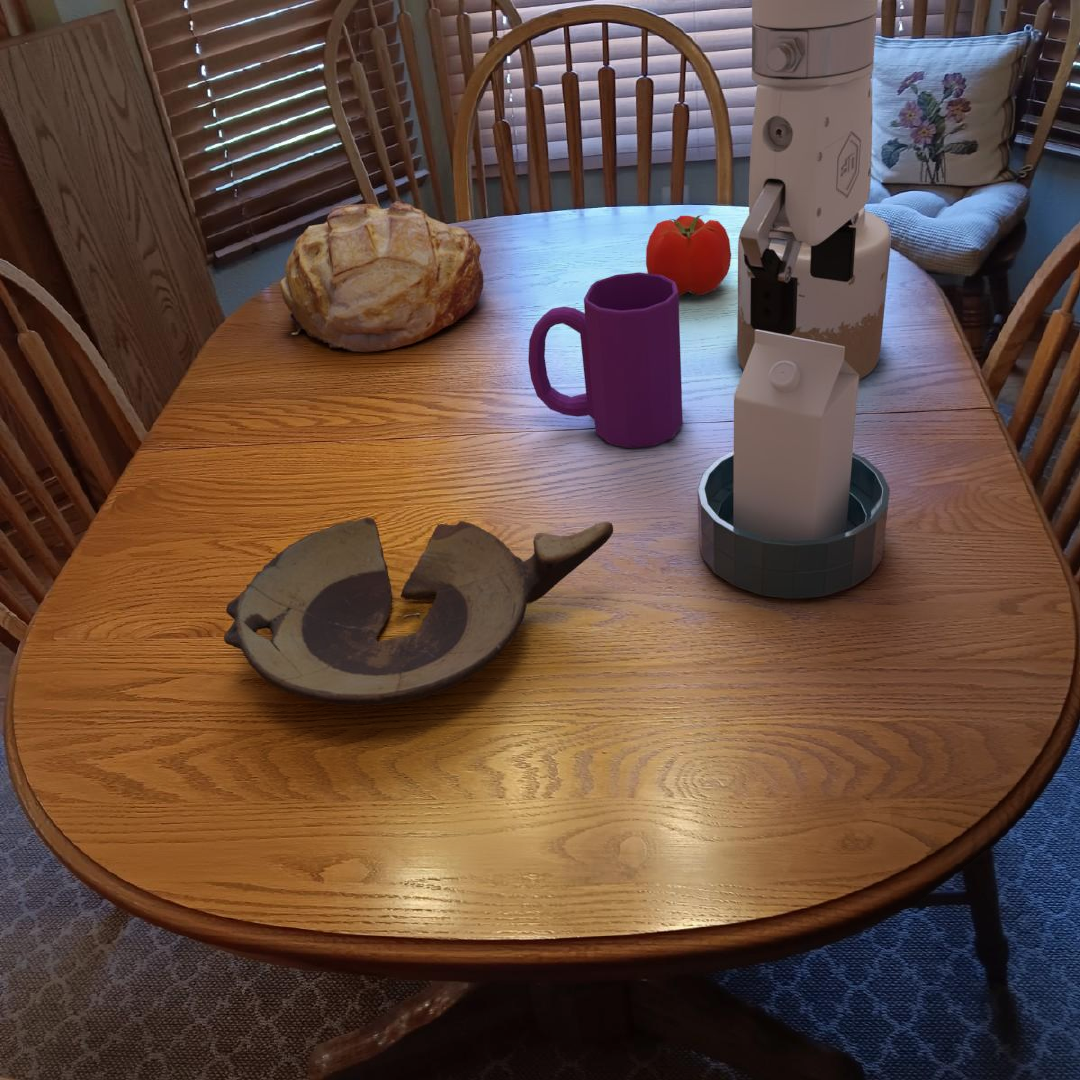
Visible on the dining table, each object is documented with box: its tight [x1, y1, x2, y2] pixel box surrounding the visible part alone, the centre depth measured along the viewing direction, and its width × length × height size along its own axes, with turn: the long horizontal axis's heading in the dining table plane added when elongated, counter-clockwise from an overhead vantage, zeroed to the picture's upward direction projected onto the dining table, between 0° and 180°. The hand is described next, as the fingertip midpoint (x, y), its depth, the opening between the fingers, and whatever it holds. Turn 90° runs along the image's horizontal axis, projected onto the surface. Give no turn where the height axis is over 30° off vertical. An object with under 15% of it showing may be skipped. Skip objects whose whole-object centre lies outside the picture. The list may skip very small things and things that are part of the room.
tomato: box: [645, 214, 732, 296], centre depth 131 cm, size 11×11×9 cm
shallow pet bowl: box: [697, 450, 891, 600], centre depth 88 cm, size 15×15×6 cm
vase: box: [736, 206, 892, 381], centre depth 111 cm, size 15×15×17 cm
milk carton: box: [733, 329, 860, 541], centre depth 83 cm, size 7×7×19 cm
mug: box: [528, 272, 684, 449], centre depth 104 cm, size 9×16×15 cm, turn 75°
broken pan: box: [223, 516, 614, 707], centre depth 82 cm, size 22×30×8 cm
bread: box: [279, 199, 484, 353], centre depth 134 cm, size 25×27×15 cm
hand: (803, 303), depth 76 cm, fingers open, 9 cm apart
